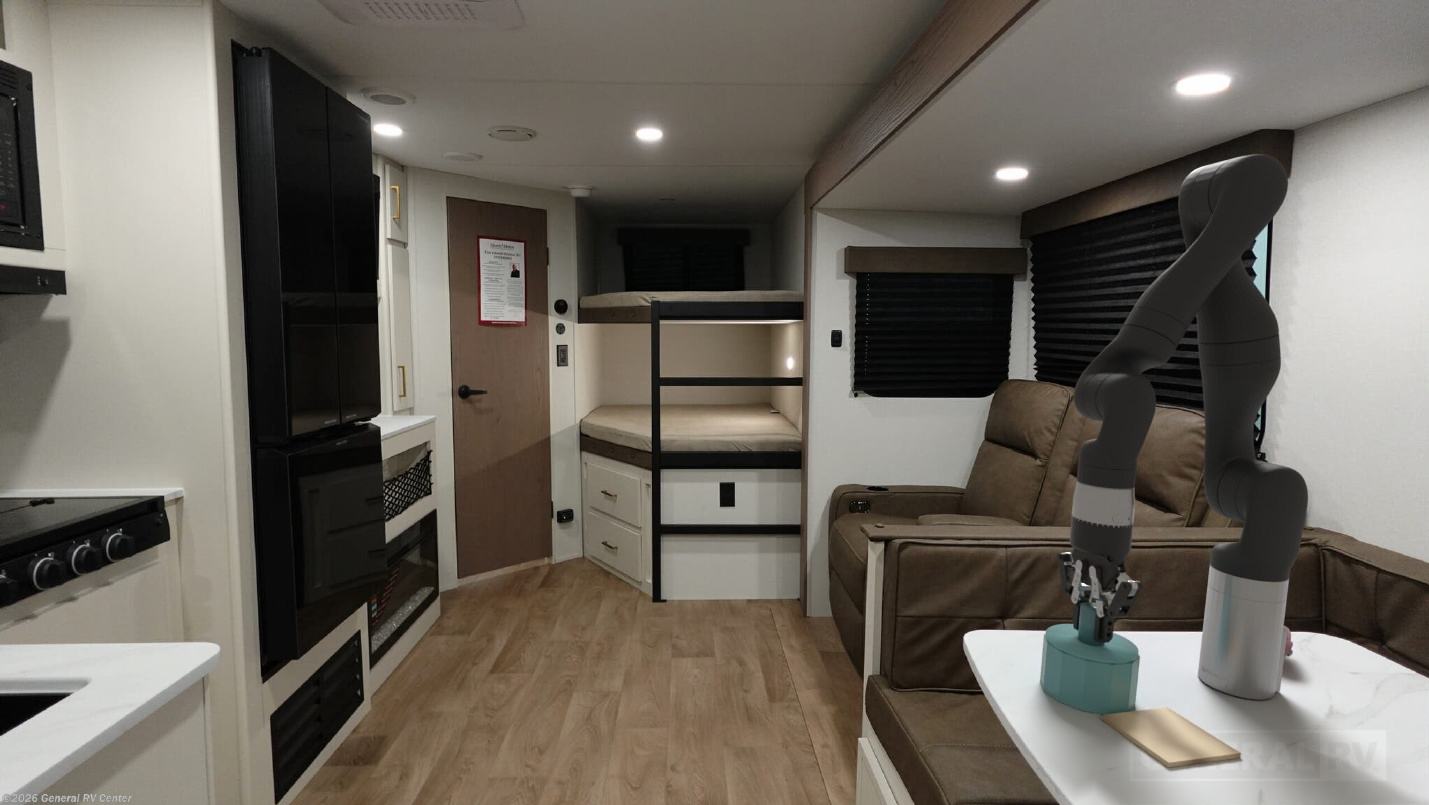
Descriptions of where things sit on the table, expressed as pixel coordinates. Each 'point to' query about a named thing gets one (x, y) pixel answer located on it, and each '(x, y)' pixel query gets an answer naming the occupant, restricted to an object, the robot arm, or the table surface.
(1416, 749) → the table surface
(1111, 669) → the teal lid with knob
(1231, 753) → the board
